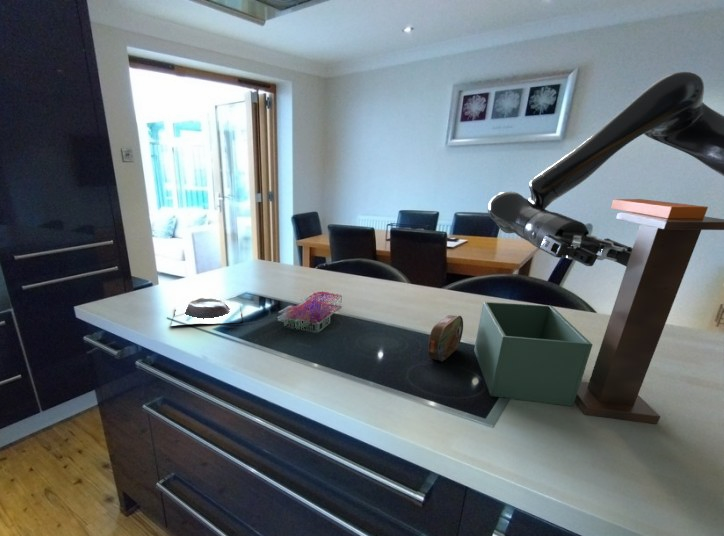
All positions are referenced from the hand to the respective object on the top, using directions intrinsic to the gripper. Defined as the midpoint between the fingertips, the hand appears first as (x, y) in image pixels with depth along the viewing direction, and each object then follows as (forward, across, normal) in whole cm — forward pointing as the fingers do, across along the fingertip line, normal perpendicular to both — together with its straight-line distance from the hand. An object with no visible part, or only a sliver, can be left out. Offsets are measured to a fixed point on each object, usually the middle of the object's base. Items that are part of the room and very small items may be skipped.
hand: (615, 262), depth 68 cm
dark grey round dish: (-46, -75, +40) cm, 96 cm away
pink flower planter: (-42, -42, +36) cm, 69 cm away
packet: (+1, 0, -9) cm, 9 cm away
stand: (+12, 0, +22) cm, 25 cm away
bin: (0, -8, +25) cm, 26 cm away
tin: (-11, -18, +28) cm, 35 cm away
